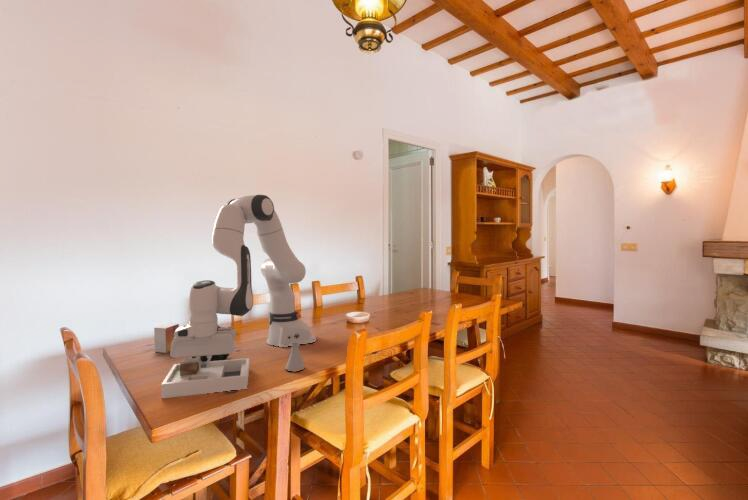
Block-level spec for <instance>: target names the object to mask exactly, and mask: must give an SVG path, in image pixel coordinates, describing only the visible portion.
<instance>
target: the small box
mask: <svg viewBox="0 0 748 500" xmlns="http://www.w3.org/2000/svg"><path fill="white" fill-rule="evenodd" d="M178 327H180V323H171V322H168V323H165V324H162V325H159V326H156V327H154V328H153V329H154V330H153V331H154V332H153V333H154V338H153V339H154V342H153V343H154V352H155V353H163V354H166V353H168V352H169V353H170V350H171V343H172V340H173V339H174V338H175V336H174V332H175V330H176V329H177V328H178Z"/></svg>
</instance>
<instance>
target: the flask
mask: <svg viewBox="0 0 748 500" xmlns="http://www.w3.org/2000/svg"><path fill="white" fill-rule="evenodd" d="M291 346H292V347H290V348H291V350H290V354H289V356H288V360H287V362H286V365H285V368H284V370H285V369H287V370H288V371H297V370H301V369H303V368H304V367H305V368H306V366H305V363H304V361H303V358H302V354H301V351H300V346H301V345H300V343H298V342H293V343H291ZM288 371H287V372H288Z"/></svg>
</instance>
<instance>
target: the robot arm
mask: <svg viewBox="0 0 748 500" xmlns="http://www.w3.org/2000/svg"><path fill="white" fill-rule="evenodd" d="M218 210H219V211H218V212H217V215H216V219H215V221H214V226H213V230H212V236H211V243H212V246H213V248H214V250H215V251H217V253H219V254H221V255H222V256H225V257H227V258H229V259H230V260H233V261H234V262H235V264H236V275H237V276H236V279H237V282H236V284H237V285H236V287H223V286H221V287H220V286H218V285H217V284H216V282H215V281H214V280H208V279H207V280H200V281H196V282H195V283H193V284H191V288H190V291H189V300H188V301H189V303H188V305H189V307H188V308H189V313H190V316H189V320H188V322H189V323H186V324H183V325H179V327H178V328H177V329H176V330H175V332H174V336H175V338H174V339H173V340H172V343H171V350H170V351H169V354H170V357H171V358H173V359H178V358H182V359H183V358H192V357H195V356H196V361H197V362H198V364H199V369H200V368H208V367H209V361H210V360H211V358H212V355H221V354H229V355H231V354H234V352H235V350H236V342H235V341H236V340H235V338H236V337H237V331H236V329H235V328H234V327H232V326H227V327H226V326H219V324H218V323H219V322H218V319H219V318H218V315H217V314H220V315H231V316H235V317H243V316H246V314H248V313H249V312H250V311H251V310H252V309H253V306H254V295H253V289H252V288H253V287H252V265H251V264H252V259H251V258H252V257H251V251H250V249H249V247H248V246H246V245H245V242H244V236H245V225H246V224H254V226H255V227H254V228H255V230H256V234H257V236H258V240H259V242H260V245H261V248H262V251H263V253H264V254H265V255H267V256H268V258H267V259H265V260H264V261H263V262H262V263H261V265H260V273H261V274H262V276H263V277H264V279H265V281H266V284H267V288H268V291H269V292H268V293H269V301H270V303H269V307H270V308H269V309H270V310H269V314H268V324H269V328H268V329H269V330H268V335H267V339H266V343H267V344H268V345H270V346H273V345H274V347H278V346H279V348H282V347H284V348H289V347H288V346H291V343H293V342H298V343H300V344H306V343H312V342H315V341H316V342H317V337H316V336H315V335H314V334H312V331H311V328H310V326H309V325H308V324H307V323H306V322H305V321H303V320H301V319H300V318H301V316H302V315H301V313H300V312H299V311H298V310H296V307H295V306H296V295H295V293H294V291H293V289H292V288H291V286H290V285H291V284H297V283H301V281H303V279H304V278H305V275H306V267H305V265H304V264H303V262H301V261H300V260H299V258H298V257H297V256H296V255H295V254H294V252H293V250H292V249H291V247H290V245H289V243H288V240H287V236H286V235H285V232H284V229H283V225H282V223H281V220H280V218H279V216H278V213H277V212H276V210H275V205H274V202H273V201H272V199H271V198H270V197H269V196H268V195H264V194H255V195H244V196H242V197H237V198H233V199H230V200H227V202H226V203H225V204H224V205H223V206H221V207H220V208H219V209H218ZM218 326H219V328H218ZM316 342H315V343H316ZM306 345H307V344H306ZM201 356H207V358H208V360H207V362H202V361H201V359H200V358H201Z"/></svg>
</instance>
